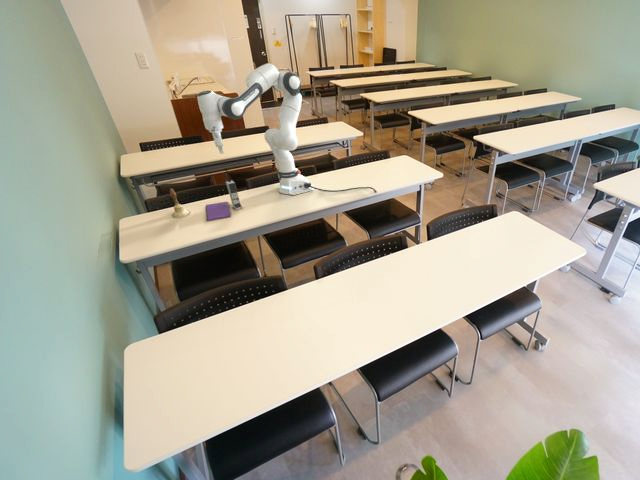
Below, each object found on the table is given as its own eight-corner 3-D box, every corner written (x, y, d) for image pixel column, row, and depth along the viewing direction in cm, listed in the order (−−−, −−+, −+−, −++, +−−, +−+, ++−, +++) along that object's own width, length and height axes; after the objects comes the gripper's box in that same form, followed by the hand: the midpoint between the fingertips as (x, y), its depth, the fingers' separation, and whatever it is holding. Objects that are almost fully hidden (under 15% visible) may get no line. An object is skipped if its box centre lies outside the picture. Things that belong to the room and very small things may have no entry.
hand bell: (169, 216, 200) (159, 190, 191) (181, 210, 206) (171, 185, 197) (180, 218, 198) (170, 192, 189) (192, 212, 204) (182, 187, 195)
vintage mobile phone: (235, 210, 208) (224, 170, 193) (233, 207, 211) (221, 167, 196) (242, 208, 210) (230, 168, 195) (239, 205, 213) (228, 166, 198)
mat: (227, 202, 216) (227, 201, 216) (230, 216, 200) (230, 215, 200) (206, 206, 212) (206, 204, 211) (208, 220, 196) (207, 219, 195)
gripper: (221, 128, 176) (228, 155, 184) (219, 120, 191) (226, 145, 199) (208, 129, 173) (216, 156, 181) (206, 121, 188) (214, 147, 196)
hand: (221, 151), depth 190 cm, fingers open, 8 cm apart
